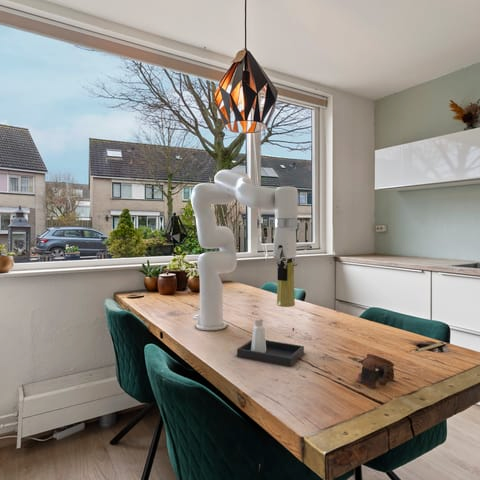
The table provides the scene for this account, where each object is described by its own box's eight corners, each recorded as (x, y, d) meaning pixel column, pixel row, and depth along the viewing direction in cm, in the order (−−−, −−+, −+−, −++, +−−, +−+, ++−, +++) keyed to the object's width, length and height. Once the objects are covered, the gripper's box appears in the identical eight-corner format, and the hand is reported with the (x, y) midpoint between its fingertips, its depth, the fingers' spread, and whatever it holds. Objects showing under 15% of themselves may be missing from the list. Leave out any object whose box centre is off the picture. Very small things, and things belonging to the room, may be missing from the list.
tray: (237, 356, 117) (237, 348, 117) (254, 345, 129) (254, 338, 128) (290, 366, 109) (290, 358, 109) (304, 353, 120) (304, 346, 120)
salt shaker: (261, 355, 117) (261, 321, 117) (247, 352, 120) (247, 319, 119) (269, 350, 122) (269, 318, 121) (255, 347, 125) (255, 315, 124)
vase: (294, 307, 116) (294, 263, 116) (275, 306, 117) (275, 263, 117) (295, 303, 122) (295, 261, 122) (277, 302, 123) (277, 261, 123)
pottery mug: (349, 378, 102) (358, 350, 104) (378, 391, 103) (386, 363, 105) (372, 385, 90) (381, 354, 93) (404, 400, 91) (412, 368, 93)
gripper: (284, 224, 128) (284, 275, 129) (265, 224, 113) (264, 282, 113) (305, 224, 125) (304, 276, 125) (287, 224, 109) (287, 283, 110)
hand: (285, 278), depth 119 cm, fingers closed on vase, 5 cm apart
